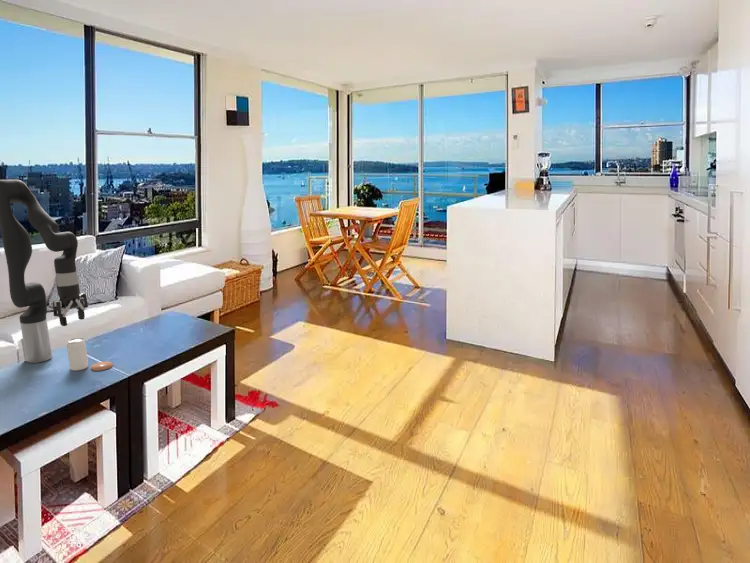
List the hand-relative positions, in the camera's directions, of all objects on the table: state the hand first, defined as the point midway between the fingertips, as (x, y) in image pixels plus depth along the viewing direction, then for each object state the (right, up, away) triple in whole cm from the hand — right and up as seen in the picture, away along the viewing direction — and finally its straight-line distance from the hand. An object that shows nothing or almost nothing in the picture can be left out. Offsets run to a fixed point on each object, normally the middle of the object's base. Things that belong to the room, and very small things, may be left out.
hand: (73, 322), depth 200 cm
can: (0, -19, +4) cm, 20 cm away
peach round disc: (+9, -19, +6) cm, 21 cm away
